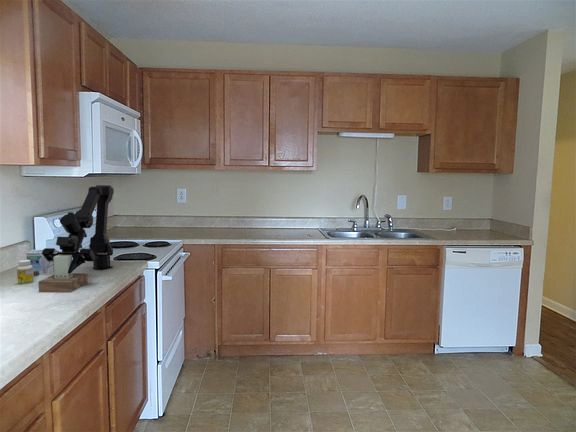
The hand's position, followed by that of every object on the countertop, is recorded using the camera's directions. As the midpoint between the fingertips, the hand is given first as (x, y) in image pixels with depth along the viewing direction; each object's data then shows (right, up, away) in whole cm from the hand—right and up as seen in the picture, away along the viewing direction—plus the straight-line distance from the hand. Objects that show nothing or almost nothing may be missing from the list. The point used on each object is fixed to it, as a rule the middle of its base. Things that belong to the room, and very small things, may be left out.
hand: (61, 273), depth 158 cm
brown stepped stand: (0, -6, +2) cm, 7 cm away
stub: (0, -6, +2) cm, 6 cm away
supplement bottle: (-19, -6, +8) cm, 21 cm away
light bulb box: (-21, -4, +23) cm, 32 cm away
